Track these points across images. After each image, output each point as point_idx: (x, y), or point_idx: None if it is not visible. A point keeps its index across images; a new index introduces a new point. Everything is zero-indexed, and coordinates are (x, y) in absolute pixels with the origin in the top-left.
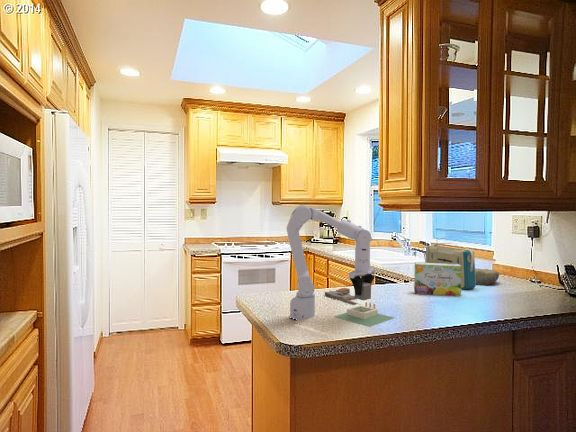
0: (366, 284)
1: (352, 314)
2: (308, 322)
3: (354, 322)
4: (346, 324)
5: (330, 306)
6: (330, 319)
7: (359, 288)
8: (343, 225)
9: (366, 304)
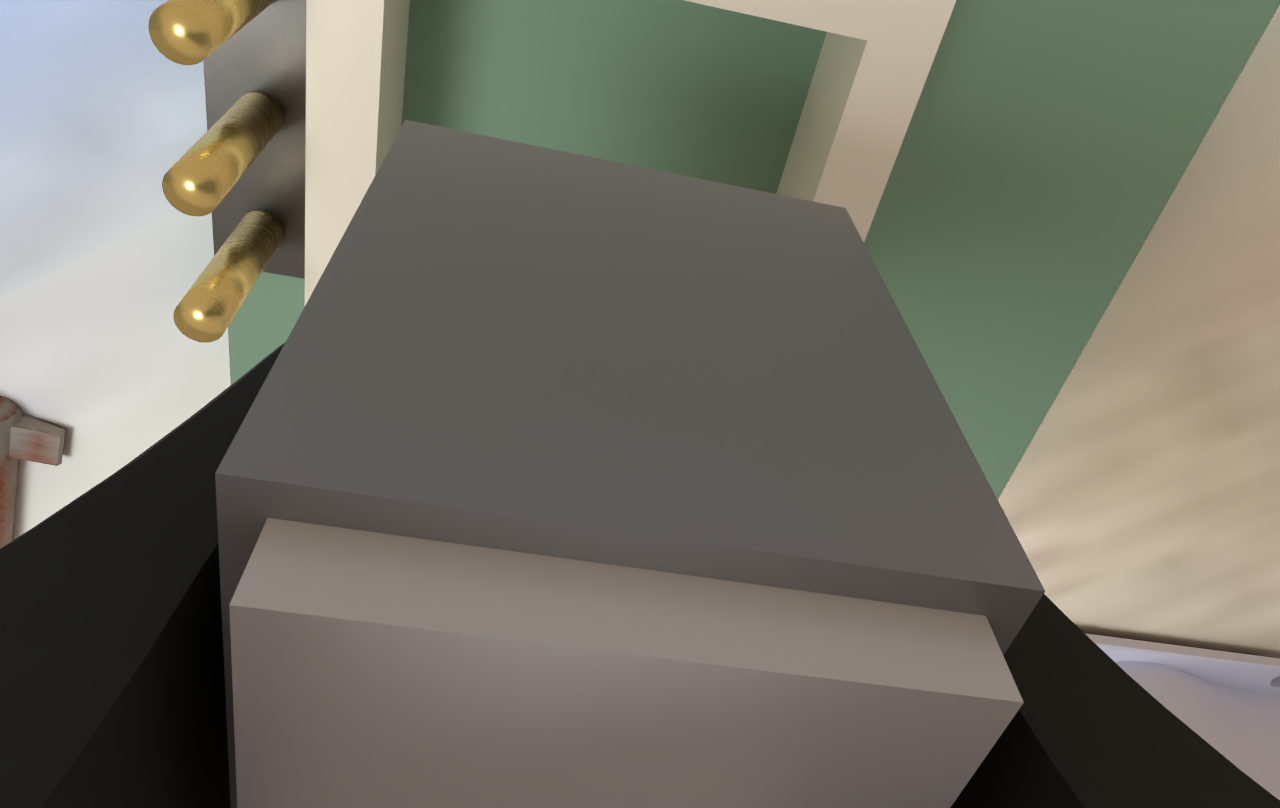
0: (732, 657)
1: None
2: (1275, 624)
3: (1259, 27)
4: (1216, 171)
5: None
6: (1015, 493)
7: (1062, 657)
8: None
9: (234, 274)
